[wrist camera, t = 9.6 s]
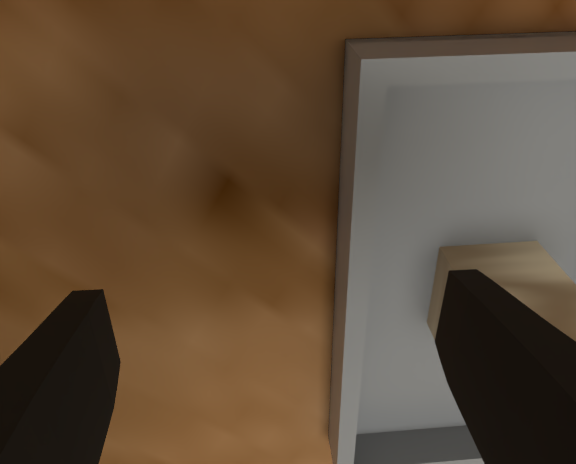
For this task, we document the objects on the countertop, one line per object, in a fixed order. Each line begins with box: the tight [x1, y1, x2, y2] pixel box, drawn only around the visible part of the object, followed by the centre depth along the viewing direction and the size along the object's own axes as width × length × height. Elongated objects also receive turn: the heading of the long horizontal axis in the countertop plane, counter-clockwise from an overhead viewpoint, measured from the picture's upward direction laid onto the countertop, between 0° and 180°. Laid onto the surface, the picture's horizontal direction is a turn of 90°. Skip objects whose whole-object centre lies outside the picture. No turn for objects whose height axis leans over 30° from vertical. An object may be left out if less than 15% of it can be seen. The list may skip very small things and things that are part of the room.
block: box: [427, 241, 576, 341], centre depth 20 cm, size 4×4×6 cm
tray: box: [328, 31, 576, 464], centre depth 22 cm, size 12×20×2 cm, turn 1°
